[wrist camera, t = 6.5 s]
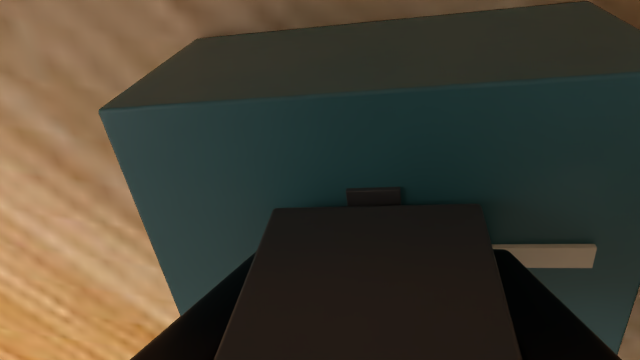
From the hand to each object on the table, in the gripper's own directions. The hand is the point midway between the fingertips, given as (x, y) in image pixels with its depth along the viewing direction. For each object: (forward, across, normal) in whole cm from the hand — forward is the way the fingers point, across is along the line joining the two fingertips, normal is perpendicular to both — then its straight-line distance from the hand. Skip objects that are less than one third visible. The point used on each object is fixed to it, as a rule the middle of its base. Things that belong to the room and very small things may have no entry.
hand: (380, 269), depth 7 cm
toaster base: (+4, 0, +3) cm, 5 cm away
